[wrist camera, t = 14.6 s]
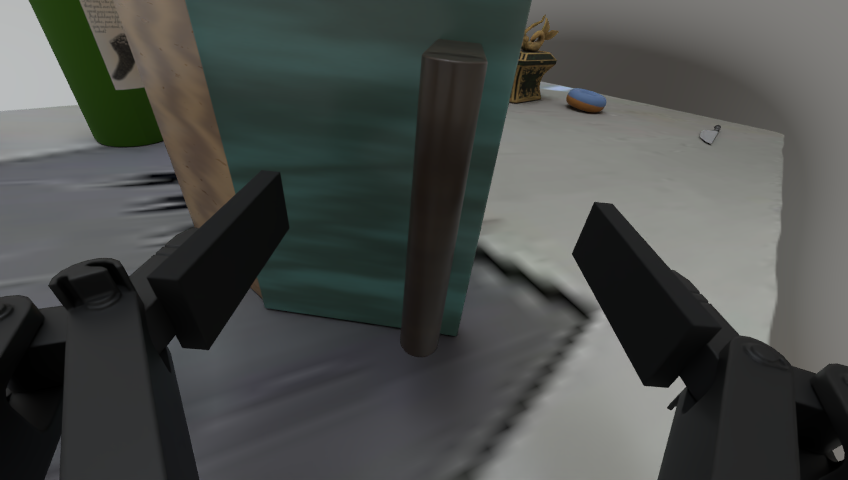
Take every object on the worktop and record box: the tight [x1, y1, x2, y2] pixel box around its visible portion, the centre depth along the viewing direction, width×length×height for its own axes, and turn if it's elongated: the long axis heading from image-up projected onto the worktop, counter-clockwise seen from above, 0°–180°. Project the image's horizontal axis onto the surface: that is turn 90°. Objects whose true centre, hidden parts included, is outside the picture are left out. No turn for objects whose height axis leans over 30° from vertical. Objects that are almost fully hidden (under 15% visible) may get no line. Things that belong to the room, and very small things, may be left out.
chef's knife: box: [700, 125, 721, 144], centre depth 78 cm, size 19×1×3 cm
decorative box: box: [509, 16, 558, 103], centre depth 89 cm, size 20×10×20 cm, turn 132°
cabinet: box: [113, 0, 263, 299], centre depth 26 cm, size 11×14×24 cm
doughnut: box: [566, 88, 606, 113], centre depth 89 cm, size 10×10×5 cm
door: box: [185, 0, 532, 357], centre depth 15 cm, size 7×14×24 cm, turn 84°
